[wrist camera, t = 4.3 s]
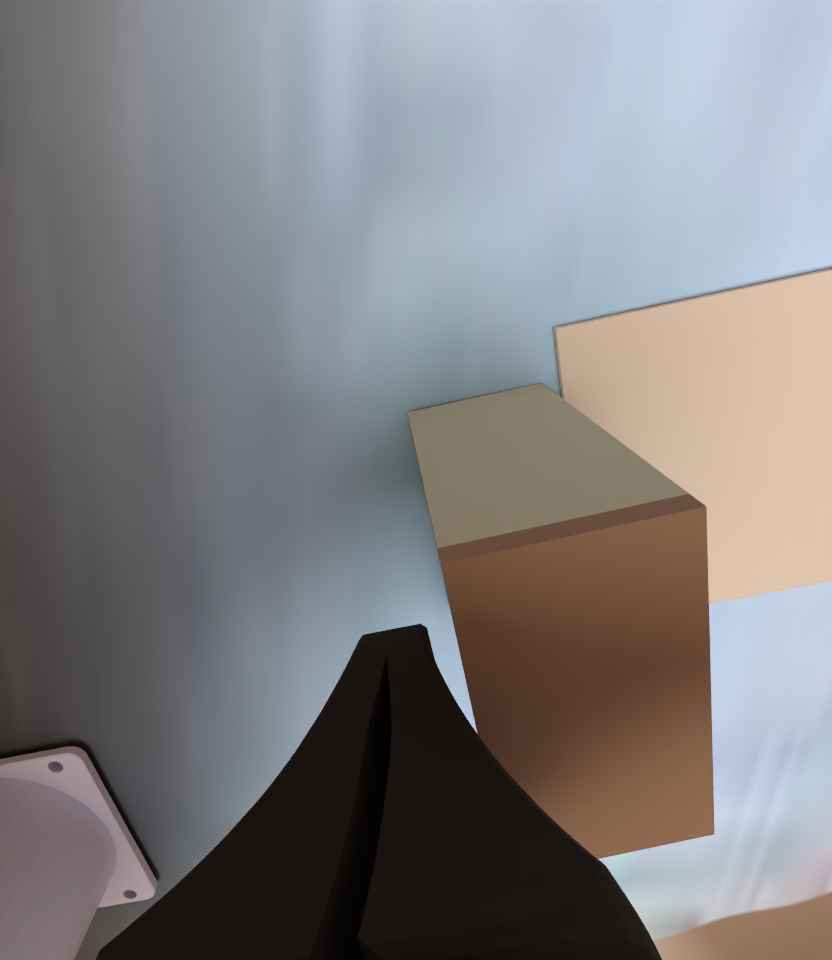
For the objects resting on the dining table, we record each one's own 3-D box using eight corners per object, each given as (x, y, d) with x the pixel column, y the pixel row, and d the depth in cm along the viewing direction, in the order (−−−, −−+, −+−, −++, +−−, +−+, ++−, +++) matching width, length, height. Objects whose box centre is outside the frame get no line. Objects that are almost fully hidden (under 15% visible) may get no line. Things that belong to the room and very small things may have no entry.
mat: (587, 620, 20) (589, 626, 20) (553, 327, 16) (556, 328, 16) (946, 553, 19) (954, 557, 19) (993, 233, 16) (1004, 233, 16)
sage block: (450, 611, 20) (508, 877, 11) (407, 412, 17) (441, 563, 9) (567, 585, 20) (714, 833, 11) (541, 382, 17) (705, 506, 9)
